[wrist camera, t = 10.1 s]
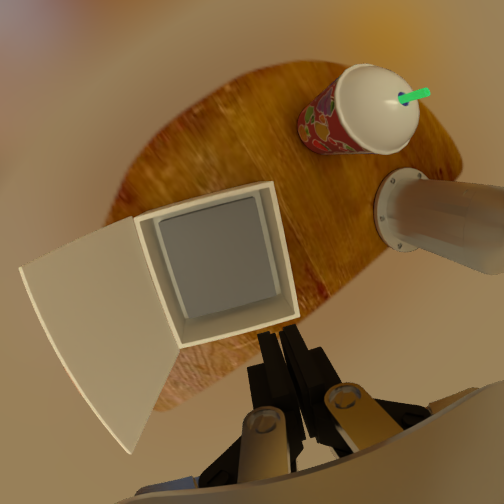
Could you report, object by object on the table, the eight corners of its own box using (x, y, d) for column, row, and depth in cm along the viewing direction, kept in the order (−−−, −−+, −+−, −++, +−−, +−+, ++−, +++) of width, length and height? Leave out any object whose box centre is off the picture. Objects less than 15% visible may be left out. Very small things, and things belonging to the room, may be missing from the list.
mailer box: (260, 181, 33) (273, 181, 27) (284, 293, 37) (300, 316, 31) (147, 211, 32) (133, 218, 25) (182, 320, 36) (179, 348, 29)
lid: (21, 266, 11) (17, 268, 11) (131, 454, 16) (126, 453, 16) (131, 215, 25) (127, 217, 25) (179, 351, 29) (175, 351, 29)
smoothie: (349, 162, 34) (467, 158, 15) (289, 161, 33) (385, 142, 14) (345, 103, 32) (453, 58, 13) (286, 97, 31) (368, 23, 12)
